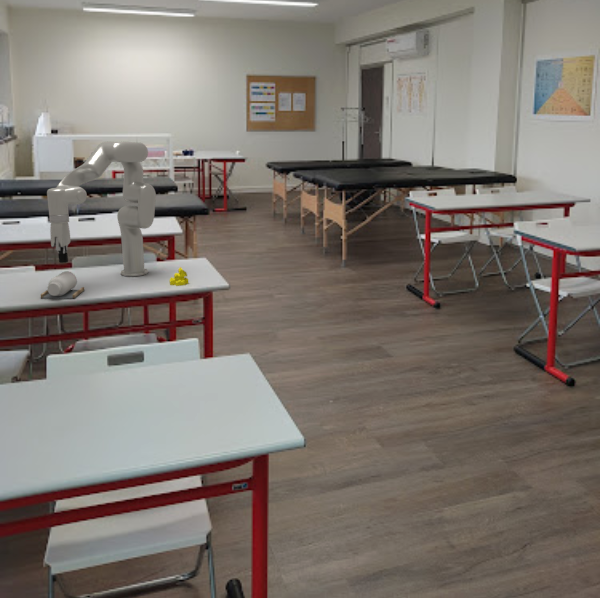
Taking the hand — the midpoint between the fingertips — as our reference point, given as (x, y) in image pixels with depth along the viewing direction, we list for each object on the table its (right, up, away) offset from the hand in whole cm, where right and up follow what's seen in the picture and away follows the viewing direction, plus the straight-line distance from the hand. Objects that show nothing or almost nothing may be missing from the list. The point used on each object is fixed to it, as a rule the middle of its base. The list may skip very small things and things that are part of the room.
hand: (63, 262), depth 285 cm
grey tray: (0, -14, 0) cm, 14 cm away
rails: (0, -14, 0) cm, 14 cm away
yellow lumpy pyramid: (+45, -9, +16) cm, 49 cm away
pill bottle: (0, -7, +5) cm, 9 cm away
